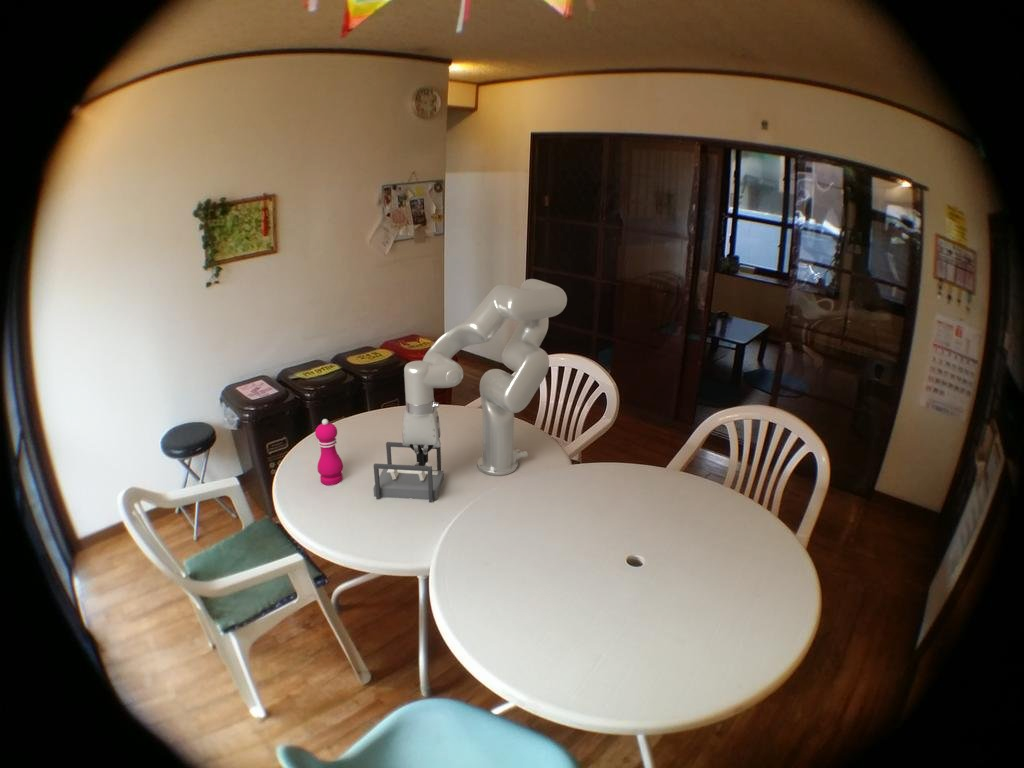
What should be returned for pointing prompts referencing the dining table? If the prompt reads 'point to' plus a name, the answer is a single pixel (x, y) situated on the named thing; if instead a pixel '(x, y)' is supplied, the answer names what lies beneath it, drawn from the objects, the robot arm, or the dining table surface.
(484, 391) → the robot arm
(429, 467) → the dark grey open frame
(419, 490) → the breaker panel
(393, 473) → the paddle
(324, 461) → the pepper mill
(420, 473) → the cream cuboid
